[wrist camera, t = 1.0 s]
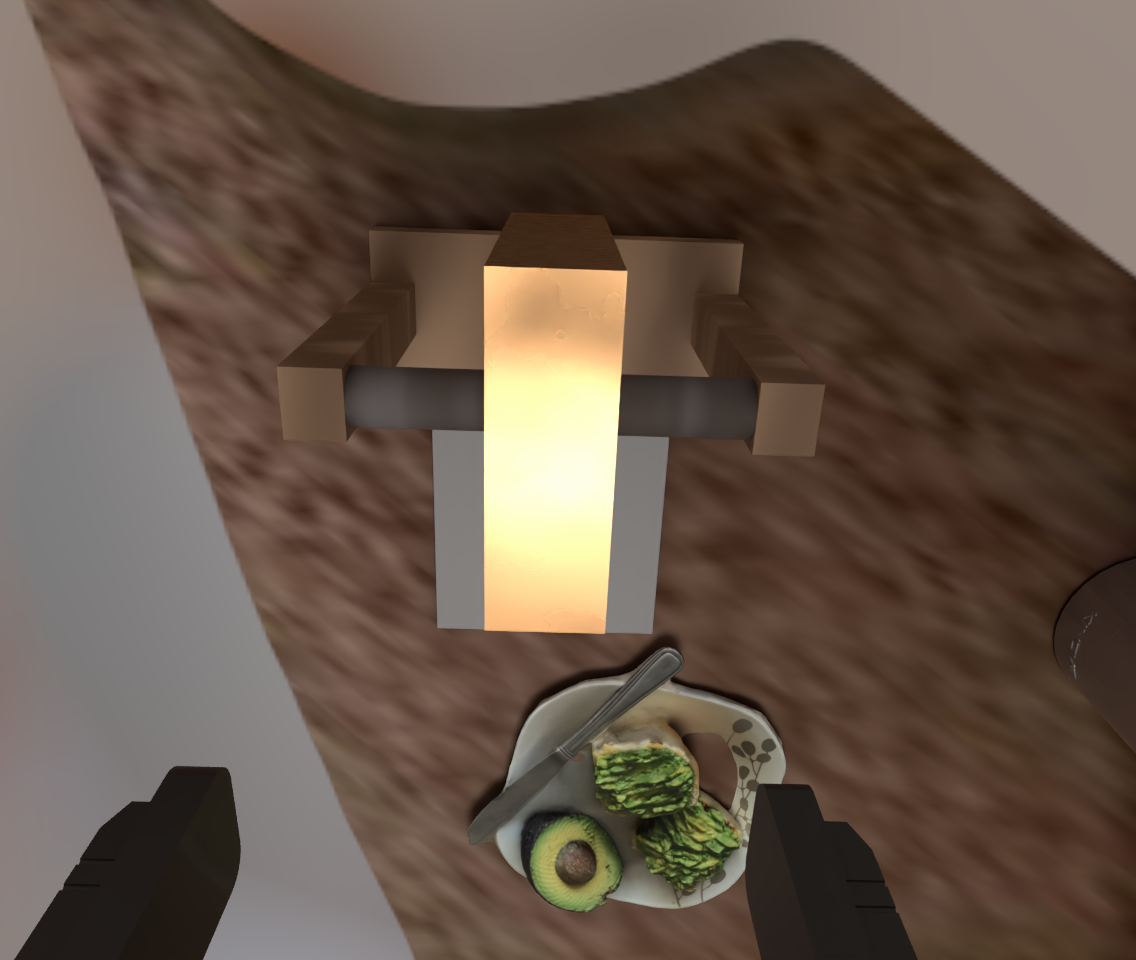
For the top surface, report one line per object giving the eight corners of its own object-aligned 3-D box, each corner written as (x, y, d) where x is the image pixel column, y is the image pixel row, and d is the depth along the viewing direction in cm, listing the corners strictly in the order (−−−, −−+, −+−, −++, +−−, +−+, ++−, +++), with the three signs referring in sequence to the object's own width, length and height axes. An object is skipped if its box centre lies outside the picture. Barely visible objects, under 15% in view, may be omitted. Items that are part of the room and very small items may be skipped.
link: (604, 215, 33) (627, 271, 21) (591, 470, 37) (605, 633, 25) (511, 212, 33) (484, 266, 21) (508, 468, 37) (484, 630, 25)
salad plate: (533, 599, 49) (531, 645, 45) (828, 669, 51) (852, 720, 47) (457, 849, 56) (448, 909, 52) (717, 902, 58) (730, 964, 54)
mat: (668, 428, 45) (669, 432, 44) (651, 627, 49) (652, 633, 49) (433, 420, 44) (432, 424, 44) (438, 622, 49) (437, 627, 48)
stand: (737, 239, 41) (836, 311, 26) (722, 382, 44) (803, 520, 29) (375, 226, 41) (268, 291, 26) (382, 371, 43) (289, 505, 29)
